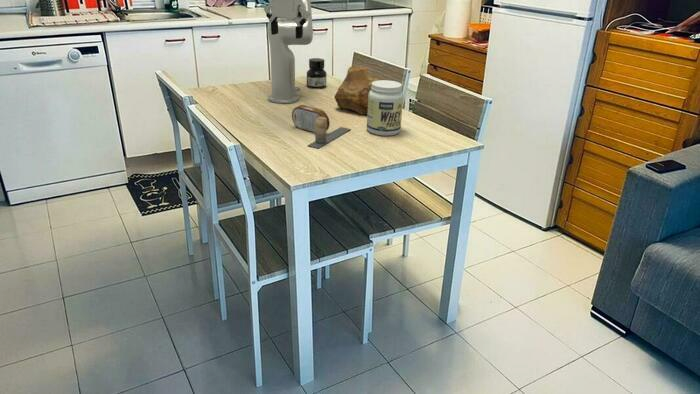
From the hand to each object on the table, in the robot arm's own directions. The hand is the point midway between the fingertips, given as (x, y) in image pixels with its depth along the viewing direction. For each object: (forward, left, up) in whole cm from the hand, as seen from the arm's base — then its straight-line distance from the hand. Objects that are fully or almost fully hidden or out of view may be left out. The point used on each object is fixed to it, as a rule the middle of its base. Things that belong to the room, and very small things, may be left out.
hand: (286, 36), depth 180 cm
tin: (+4, +12, -31) cm, 33 cm away
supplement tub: (-11, +33, -31) cm, 46 cm away
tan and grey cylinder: (+12, +21, -30) cm, 39 cm away
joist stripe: (+6, +21, -30) cm, 37 cm away
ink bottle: (-49, -18, -31) cm, 60 cm away
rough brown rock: (-29, +13, -31) cm, 44 cm away
